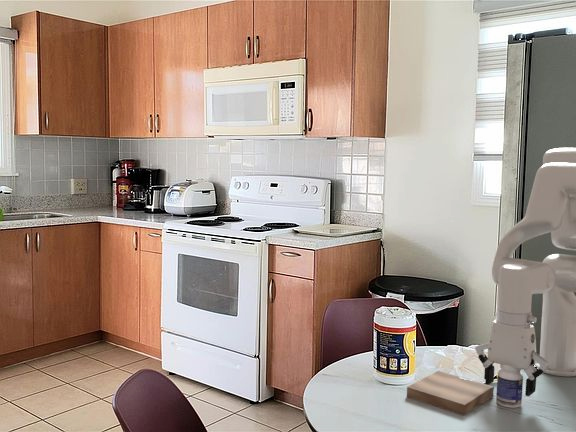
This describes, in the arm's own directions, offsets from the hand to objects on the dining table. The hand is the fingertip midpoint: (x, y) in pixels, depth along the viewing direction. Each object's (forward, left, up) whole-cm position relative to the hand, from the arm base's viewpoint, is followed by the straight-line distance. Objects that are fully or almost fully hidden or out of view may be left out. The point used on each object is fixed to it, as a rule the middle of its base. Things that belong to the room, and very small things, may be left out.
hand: (509, 388), depth 148 cm
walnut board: (+6, -12, -4) cm, 14 cm away
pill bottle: (0, 0, -4) cm, 4 cm away
